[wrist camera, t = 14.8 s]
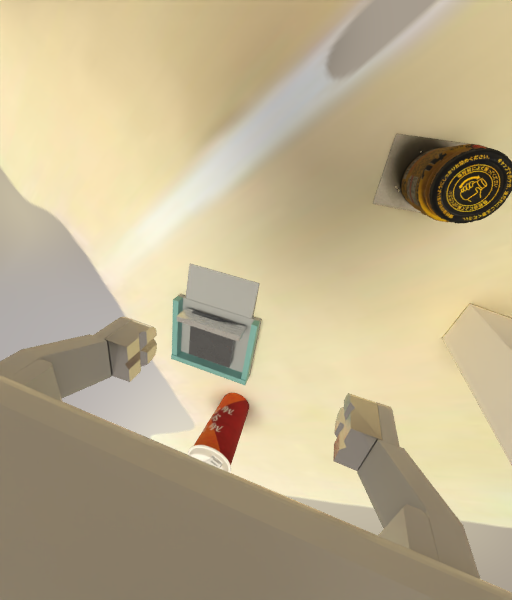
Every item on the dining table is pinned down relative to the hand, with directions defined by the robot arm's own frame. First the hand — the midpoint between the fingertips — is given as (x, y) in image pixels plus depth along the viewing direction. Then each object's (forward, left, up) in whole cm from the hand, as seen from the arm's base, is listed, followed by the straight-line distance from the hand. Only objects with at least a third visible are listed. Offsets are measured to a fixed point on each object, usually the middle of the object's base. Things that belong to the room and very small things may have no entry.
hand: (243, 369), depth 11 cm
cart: (+22, -12, -28) cm, 38 cm away
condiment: (-8, +10, -29) cm, 32 cm away
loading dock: (+20, -12, -30) cm, 38 cm away
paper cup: (+38, -6, -29) cm, 48 cm away
